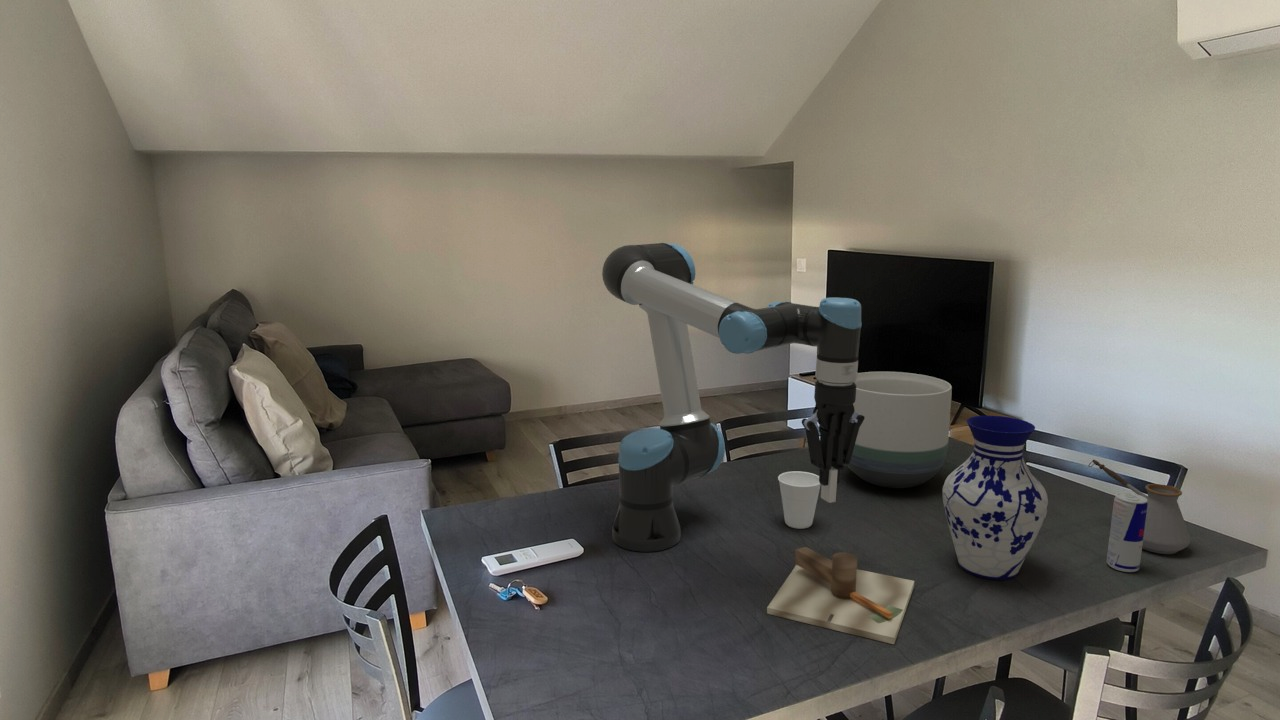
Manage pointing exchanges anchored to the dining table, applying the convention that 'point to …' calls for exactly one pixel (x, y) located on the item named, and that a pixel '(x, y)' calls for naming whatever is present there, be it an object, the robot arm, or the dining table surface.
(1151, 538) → the coffee pot
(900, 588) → the cream flat square slab
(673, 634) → the dining table surface
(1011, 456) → the vase
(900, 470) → the planter
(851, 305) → the robot arm
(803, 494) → the cup
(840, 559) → the wooden mallet
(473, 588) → the dining table surface
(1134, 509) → the beverage can
